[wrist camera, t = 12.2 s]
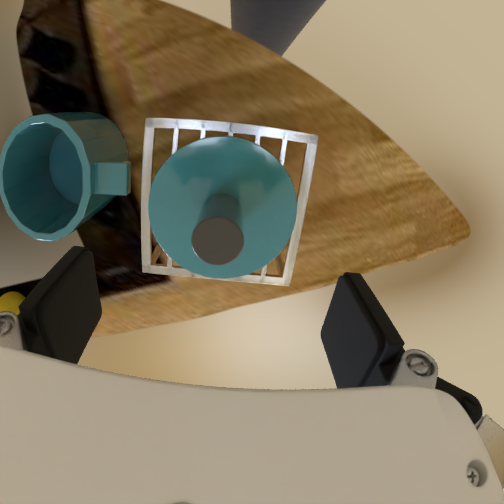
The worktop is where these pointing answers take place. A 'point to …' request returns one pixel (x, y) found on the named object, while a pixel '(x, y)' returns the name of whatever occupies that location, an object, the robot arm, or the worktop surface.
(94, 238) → the worktop surface
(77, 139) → the pot
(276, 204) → the lid
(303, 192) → the rack
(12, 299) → the lemon
